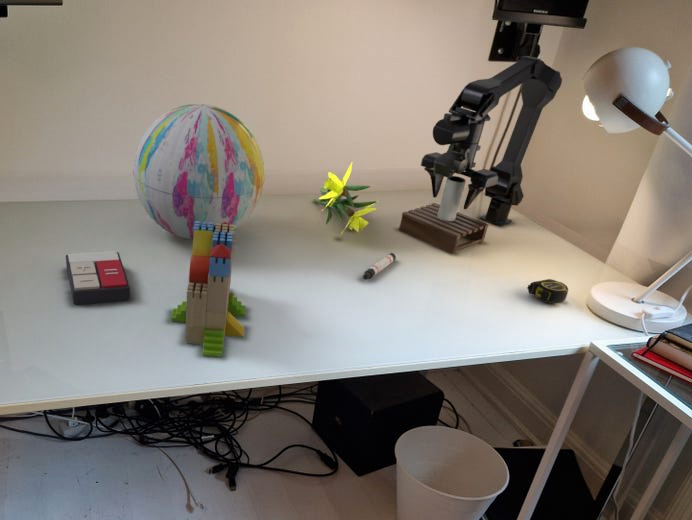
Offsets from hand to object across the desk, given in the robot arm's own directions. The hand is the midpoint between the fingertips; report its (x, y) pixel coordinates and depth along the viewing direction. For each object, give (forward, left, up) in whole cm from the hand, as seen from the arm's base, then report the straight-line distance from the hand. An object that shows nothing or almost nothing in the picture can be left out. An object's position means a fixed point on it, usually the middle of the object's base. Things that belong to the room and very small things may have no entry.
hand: (449, 203), depth 164 cm
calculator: (+88, -23, -9) cm, 91 cm away
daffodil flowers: (+19, -22, -9) cm, 30 cm away
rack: (0, 0, -9) cm, 9 cm away
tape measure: (+8, +33, -9) cm, 36 cm away
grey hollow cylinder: (0, 0, -4) cm, 4 cm away
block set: (+76, -1, -9) cm, 77 cm away
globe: (+55, -33, -9) cm, 65 cm away
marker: (+31, +4, -9) cm, 33 cm away
